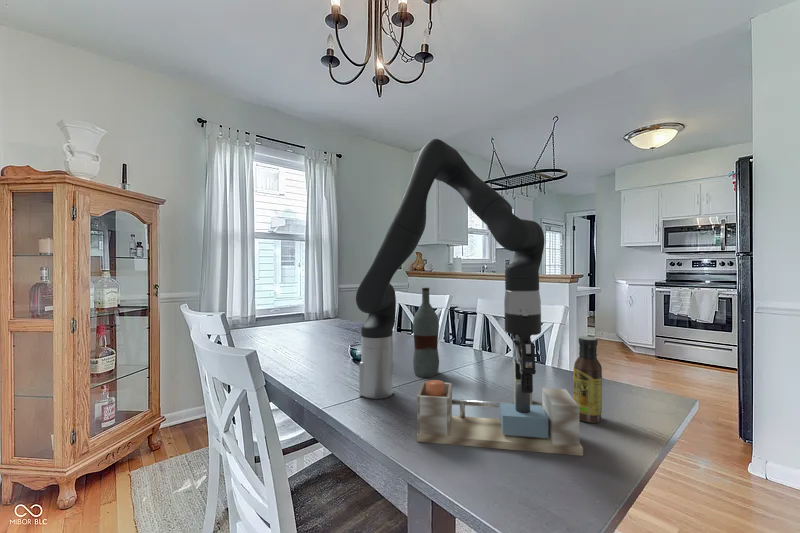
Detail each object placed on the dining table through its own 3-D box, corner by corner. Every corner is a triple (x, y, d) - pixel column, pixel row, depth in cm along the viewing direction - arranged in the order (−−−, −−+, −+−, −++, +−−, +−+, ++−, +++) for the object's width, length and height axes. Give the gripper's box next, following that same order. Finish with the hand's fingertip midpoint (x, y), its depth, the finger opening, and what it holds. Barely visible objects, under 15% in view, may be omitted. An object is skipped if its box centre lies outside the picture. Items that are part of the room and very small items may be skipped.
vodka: (435, 378, 118) (435, 288, 118) (409, 376, 122) (408, 288, 122) (442, 371, 127) (441, 287, 127) (417, 368, 130) (417, 286, 130)
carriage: (503, 434, 75) (502, 387, 75) (500, 420, 82) (499, 376, 82) (548, 438, 73) (548, 389, 73) (541, 423, 80) (541, 378, 80)
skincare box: (532, 407, 94) (532, 361, 94) (515, 406, 95) (515, 360, 95) (529, 399, 100) (528, 355, 100) (512, 397, 101) (512, 354, 101)
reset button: (425, 403, 79) (425, 385, 79) (427, 396, 83) (427, 379, 83) (443, 404, 79) (443, 386, 79) (444, 397, 83) (444, 380, 83)
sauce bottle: (567, 413, 90) (567, 335, 90) (591, 412, 91) (590, 334, 91) (583, 425, 84) (582, 340, 84) (608, 423, 84) (607, 339, 84)
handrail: (452, 417, 85) (451, 400, 85) (452, 415, 86) (452, 398, 86) (542, 424, 81) (542, 406, 81) (541, 421, 82) (541, 404, 82)
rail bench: (416, 441, 76) (416, 397, 76) (423, 419, 87) (422, 380, 87) (583, 455, 70) (582, 407, 70) (567, 430, 81) (567, 388, 81)
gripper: (501, 307, 85) (502, 375, 85) (508, 315, 71) (509, 396, 71) (534, 307, 84) (535, 376, 84) (548, 315, 70) (549, 398, 70)
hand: (523, 385), depth 77 cm, fingers open, 8 cm apart
